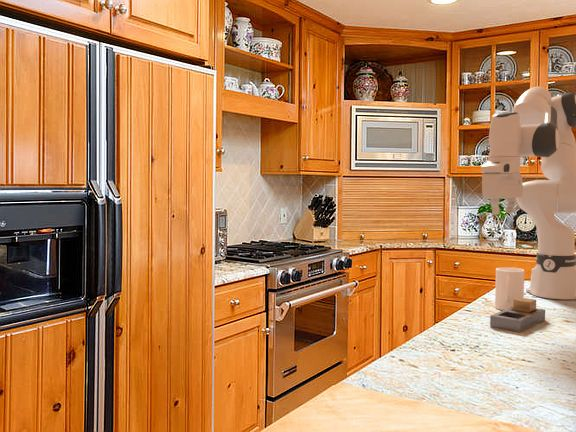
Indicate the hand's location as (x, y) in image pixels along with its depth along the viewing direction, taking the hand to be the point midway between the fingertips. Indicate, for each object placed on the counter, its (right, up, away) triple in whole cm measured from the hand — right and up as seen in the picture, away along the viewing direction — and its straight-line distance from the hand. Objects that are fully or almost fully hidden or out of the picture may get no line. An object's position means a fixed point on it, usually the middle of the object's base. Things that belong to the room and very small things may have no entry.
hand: (503, 213), depth 164 cm
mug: (+3, -29, +3) cm, 29 cm away
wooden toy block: (+2, -30, -10) cm, 32 cm away
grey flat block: (-1, -30, -13) cm, 33 cm away
